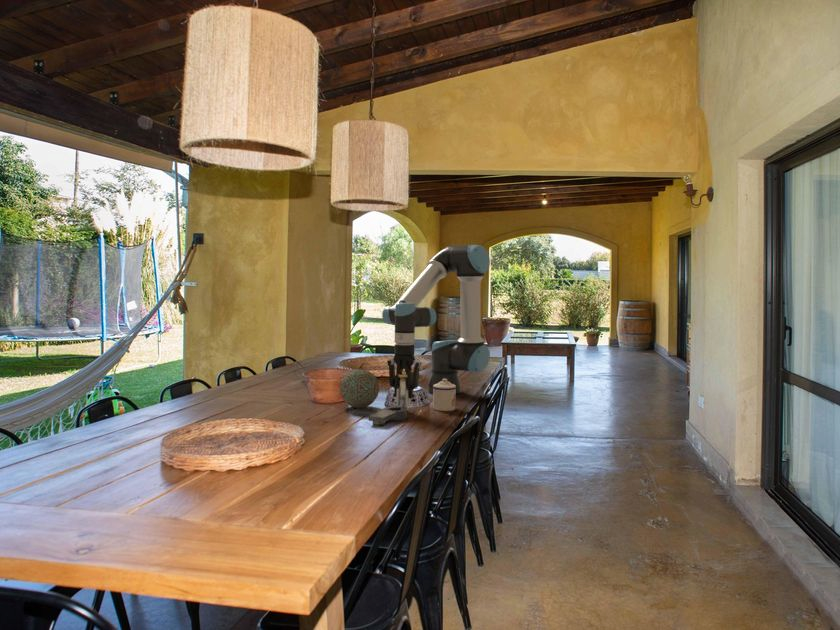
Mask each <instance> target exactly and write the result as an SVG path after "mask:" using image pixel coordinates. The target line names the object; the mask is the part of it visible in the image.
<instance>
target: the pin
mask: <svg viewBox="0 0 840 630" xmlns="http://www.w3.org/2000/svg"><path fill="white" fill-rule="evenodd" d="M398 378H400V387H399V388H400V392H399V406H398V407H404V408H407V411H409V407H406V390H407V389H408V386H407V378H408V375H406V372H402V373H401V374H398Z"/></svg>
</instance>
